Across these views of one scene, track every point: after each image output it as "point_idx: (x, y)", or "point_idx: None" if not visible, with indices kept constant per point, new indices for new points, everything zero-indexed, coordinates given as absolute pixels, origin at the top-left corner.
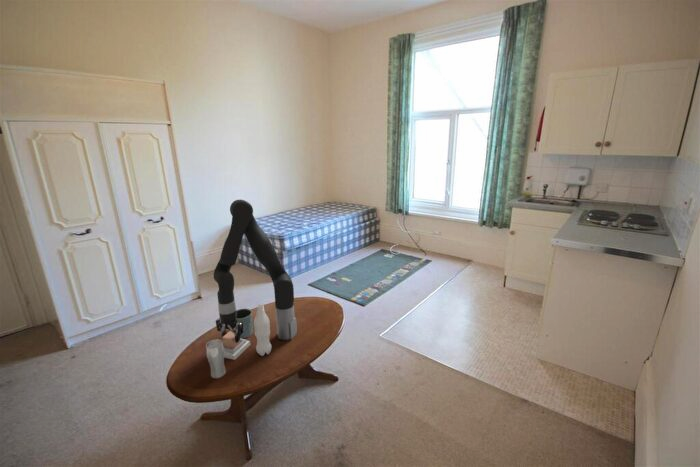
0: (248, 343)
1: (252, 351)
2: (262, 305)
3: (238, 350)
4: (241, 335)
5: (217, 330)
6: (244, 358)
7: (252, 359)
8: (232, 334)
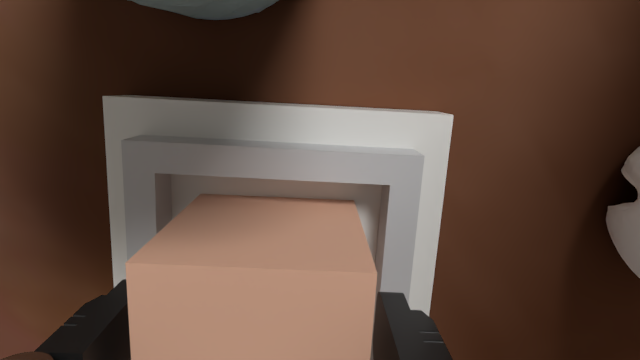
0: (444, 149)
1: (524, 217)
2: None
3: None
4: (243, 9)
5: None
6: (493, 336)
7: (583, 328)
8: (266, 348)
